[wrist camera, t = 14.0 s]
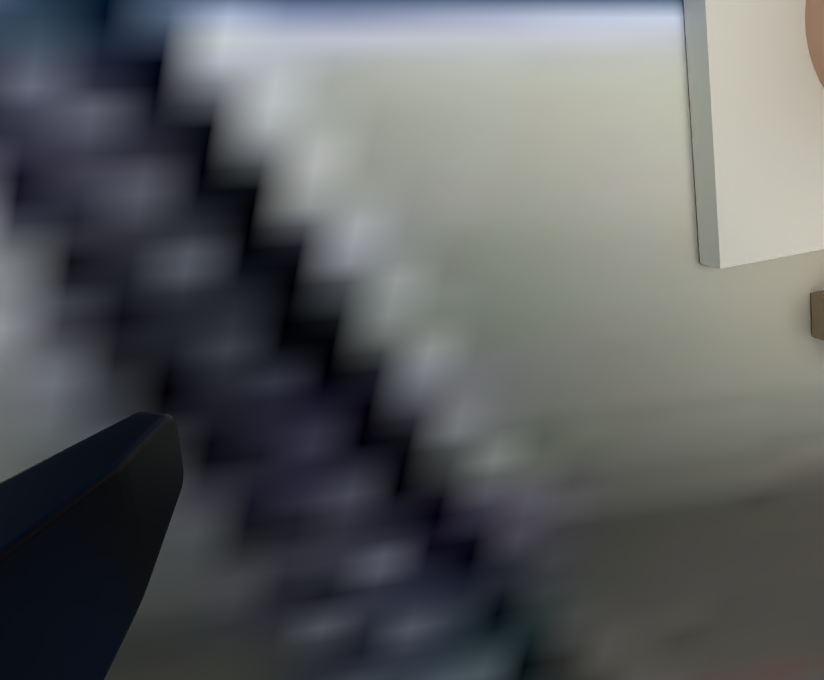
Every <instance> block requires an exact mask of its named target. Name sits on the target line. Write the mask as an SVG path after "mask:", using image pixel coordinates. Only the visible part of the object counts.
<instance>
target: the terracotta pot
mask: <svg viewBox="0 0 824 680" xmlns="http://www.w3.org/2000/svg"><path fill="white" fill-rule="evenodd" d="M805 29H806V38H807V44H808V50H809V54H810V57H811V60H812V64H813V67H814V69H815V71H816V74H817V76H818V78H819V80H820V82H821V84H822V86H823V87H824V0H806V6H805Z"/></svg>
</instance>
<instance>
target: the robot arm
mask: <svg viewBox="0 0 824 680" xmlns="http://www.w3.org/2000/svg"><path fill="white" fill-rule="evenodd" d="M182 483H183V464H182V457H181V450H180V444H179V437H178V430H177V425H176V422H175V420H174V418H173V417H172V416H171V415H170V414H163V413H151V412H138V413H135V414H133V415H131V416H129V417H127V418H125V419H123V420H122V421H120V422H118V423H116V424H114V425H112V426H110V427H108V428H106V429H104V430H102V431H100V432H98V433H96V434H94V435H92V436H90V437H89V438H87V439H85V440H83V441H81V442H79V443H77V444H75V445H73V446H71V447H69V448H67V449H65V450H63V451H61V452H59V453H57V454H55V455H53V456H52V457H50V458H48V459H46V460H44V461H42V462H40V463H38V464H36V465H34V466H32V467H30V468H28V469H26V470H24V471H22V472H20V473H18V474H17V475H15V476H13V477H11V478H9V479H7V480H5V481H3V482H1V483H0V680H104V679H105V677H106V674H107V672H108V670H109V668H110V666H111V664H112V662H113V660H114V658H115V656H116V654H117V652H118V650H119V648H120V645H121V643H122V641H123V639H124V637H125V635H126V633H127V631H128V629H129V627H130V625H131V623H132V621H133V619H134V616H135V614H136V612H137V610H138V608H139V605H140V603H141V601H142V599H143V596H144V593H145V591H146V588H147V586H148V583H149V580H150V577H151V575H152V572H153V569H154V566H155V563H156V560H157V557H158V554H159V552H160V549H161V546H162V543H163V540H164V537H165V534H166V531H167V529H168V526H169V523H170V520H171V517H172V514H173V511H174V508H175V506H176V503H177V500H178V497H179V494H180V491H181V488H182Z"/></svg>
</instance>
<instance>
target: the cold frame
mask: <svg viewBox="0 0 824 680" xmlns="http://www.w3.org/2000/svg"><path fill="white" fill-rule="evenodd" d="M811 314H812V336H813V337H815V338H818V339H821V340H824V291H821V292H816V293H811Z"/></svg>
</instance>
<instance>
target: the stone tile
mask: <svg viewBox="0 0 824 680" xmlns="http://www.w3.org/2000/svg"><path fill="white" fill-rule="evenodd" d="M683 3H684V19H685V34H686V50H687V66H688V82H689V97H690V113H691V129H692V145H693V160H694V176H695V192H696V208H697V223H698V239H699V255H700V263H701V264H704V265H708V266H712V267H715V268H719V269H722V268H728V267H733V266H738V265H743V264H749V263H754V262H759V261H764V260H770V259H775V258H780V257H785V256H791V255H796V254H801V253H806V252H812V251H817V250H822V249H824V87H823V86H822V84H821V82H820V80H819V78H818V76H817V74H816V71H815V69H814V67H813V64H812V60H811V57H810V54H809V50H808V44H807V38H806V29H805V6H806V0H683Z"/></svg>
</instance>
